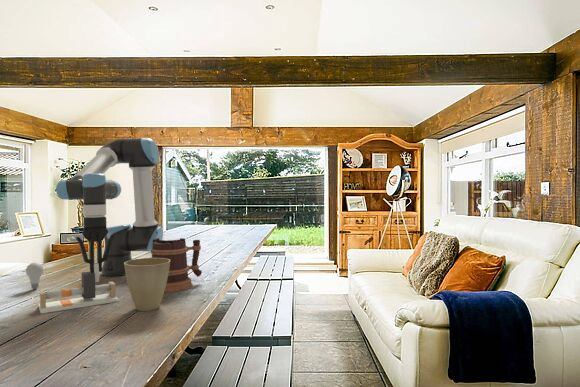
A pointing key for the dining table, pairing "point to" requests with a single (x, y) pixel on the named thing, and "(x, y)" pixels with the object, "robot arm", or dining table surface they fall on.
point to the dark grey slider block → (88, 285)
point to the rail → (76, 302)
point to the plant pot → (147, 281)
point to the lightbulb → (34, 274)
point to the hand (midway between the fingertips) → (96, 281)
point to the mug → (177, 262)
